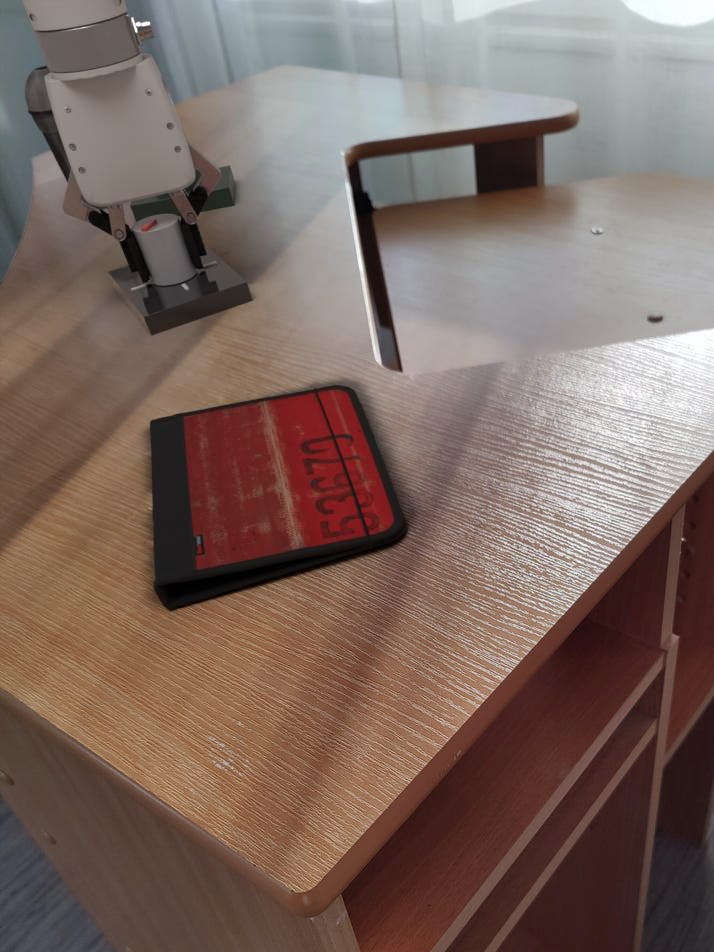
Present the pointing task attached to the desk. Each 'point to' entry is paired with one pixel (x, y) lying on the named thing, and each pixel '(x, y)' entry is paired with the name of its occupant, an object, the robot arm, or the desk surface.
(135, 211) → the button box
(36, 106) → the beverage cup
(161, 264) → the hob knob
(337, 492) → the binder
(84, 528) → the desk surface
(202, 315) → the panel
